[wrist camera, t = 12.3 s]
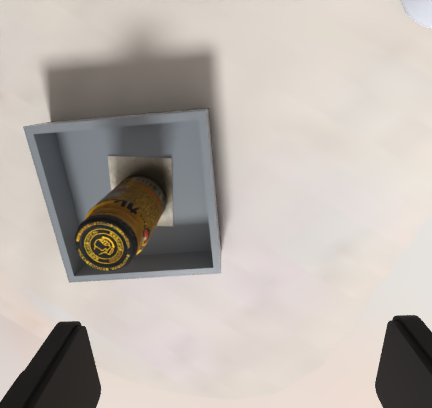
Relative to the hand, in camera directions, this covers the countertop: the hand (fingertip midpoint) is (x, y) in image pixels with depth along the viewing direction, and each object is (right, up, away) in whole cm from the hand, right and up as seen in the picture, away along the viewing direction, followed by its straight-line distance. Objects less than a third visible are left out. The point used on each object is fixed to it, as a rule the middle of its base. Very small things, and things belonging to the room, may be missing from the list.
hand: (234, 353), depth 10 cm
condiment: (-9, +6, +27) cm, 29 cm away
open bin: (-10, +6, +28) cm, 30 cm away
